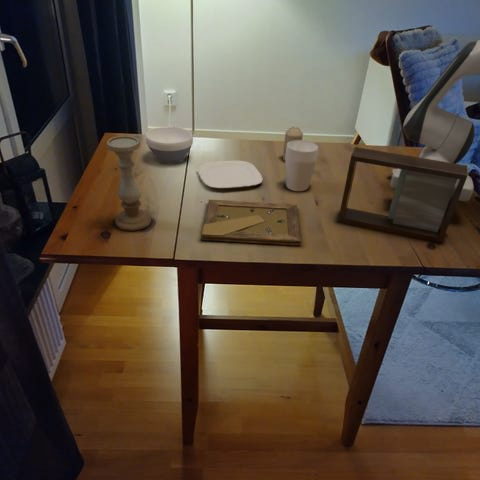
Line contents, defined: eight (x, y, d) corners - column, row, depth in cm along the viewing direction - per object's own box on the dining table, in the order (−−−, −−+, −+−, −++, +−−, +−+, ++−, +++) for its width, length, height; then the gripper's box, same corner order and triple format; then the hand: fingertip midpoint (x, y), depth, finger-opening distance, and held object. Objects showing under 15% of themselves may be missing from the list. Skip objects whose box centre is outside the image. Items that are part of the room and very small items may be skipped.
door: (388, 211, 123) (403, 159, 113) (431, 219, 120) (450, 167, 111) (387, 218, 119) (401, 166, 110) (431, 227, 117) (449, 174, 108)
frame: (341, 211, 125) (355, 146, 113) (442, 231, 119) (467, 165, 107) (337, 222, 121) (351, 155, 109) (441, 243, 115) (467, 175, 103)
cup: (313, 182, 138) (320, 142, 130) (311, 195, 132) (317, 153, 124) (284, 178, 139) (288, 138, 132) (279, 191, 133) (284, 149, 125)
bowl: (144, 151, 151) (142, 127, 146) (188, 148, 154) (187, 125, 149) (151, 169, 140) (148, 144, 135) (197, 166, 144) (197, 141, 139)
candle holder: (109, 219, 117) (96, 138, 103) (141, 210, 121) (132, 132, 107) (124, 234, 112) (112, 152, 98) (157, 225, 116) (149, 144, 102)
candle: (285, 163, 148) (289, 131, 141) (280, 156, 152) (283, 125, 145) (301, 162, 149) (306, 130, 143) (296, 155, 153) (300, 124, 147)
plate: (249, 163, 146) (250, 158, 145) (267, 188, 134) (268, 183, 132) (193, 168, 142) (193, 162, 141) (206, 194, 129) (206, 188, 128)
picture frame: (202, 240, 111) (300, 246, 111) (201, 234, 110) (301, 239, 110) (208, 204, 125) (295, 209, 125) (208, 198, 124) (296, 203, 124)
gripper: (395, 157, 125) (390, 176, 115) (475, 170, 120) (477, 192, 111) (390, 179, 129) (384, 200, 119) (466, 193, 125) (467, 215, 115)
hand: (429, 196), depth 115 cm, fingers closed on door, 2 cm apart
